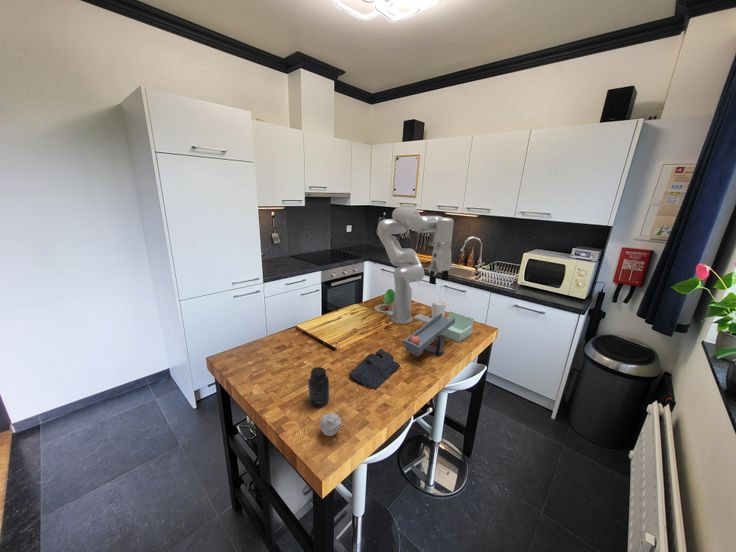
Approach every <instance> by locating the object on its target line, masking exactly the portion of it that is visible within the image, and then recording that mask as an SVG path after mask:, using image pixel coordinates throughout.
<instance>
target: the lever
mask: <svg viewBox="0 0 736 552" xmlns="http://www.w3.org/2000/svg"><path fill="white" fill-rule="evenodd" d="M413 317H414V320H416V321H418V322H419V321H420V322H422V323H425V324H424V325H423V326H420V327H421V328H420V327H419V328H420V329H419V330H418V329H417V330H416V331H415V332H414V333H412V334H411V335H409V336H408V337H407V338H405V339H404V340H403V347H405V349H406V352H408V353H410V354H412V355H414V356H416V357H419V356H421V355H422V353H424V350H423V349H424V348H426V347H427V346H428V345H430V344H432V343H433V342H434V341H435V340H436V339H437V338H438V336H440V335H441V334H442V333H444V332H445V331H446V330H447V329H448V328H450V327H451V326H452V325H453V324H454V323H455V318H452V319H451V320H450V319H447V318H448V317H445V316H444V317H442V313H440V314H439V315H438V316H436V317H435V318H432V317H430V316H427V315H424V314H421V313H418V314H417V315H416V316H413ZM412 336H417V337H418V338H419V339H420V342H419V344H418V345H416V344H414V343H412V342H410V339H411V337H412Z"/></svg>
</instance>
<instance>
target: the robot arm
mask: <svg viewBox="0 0 736 552" xmlns="http://www.w3.org/2000/svg"><path fill="white" fill-rule="evenodd" d="M391 217H392V218H386V219H382V220H380V221H379V223H378V224H377V235H378V239H379V240H380V241H381V243H382V245H383V246H384V248H385V251H386V254H387V256H388V258H389V261H390V263H391V265H393V266H394V267H396V268H395V269H394V270H393V279H394V280H393V281H394V293H395V295H394V302H393V306H394V310H393V311H392V310H391V311H389V310H385V314H386V316H390V317H389V318H390V320H391V322H393V323H395V324H400V325H407V324H410V323H413V317H412V316H411V310H412V309H411V308H412V298H413V297H412V293H413V291H412V287H411V286H410V284H411V283H414V282H415V283H416V282H420V281H422V280H424V277H425V270H424V267H423V264H422V262H421V260H420V258H419V255H418V253H417V252H416V251H415V249H413V248H410V247H409V248H407V247H406V248H403V247H402V246H401V244H400V241H399V240H398V239H397V238H396V237H395V236H394V235H401V234H404V233H407V231H409V230H411V231H414V232H417V233H421V234H425V233H434V241H433V250H432V253H431V254H432V255H431V260H430V264H429V266H428V267H427V270H428V275H429V280H428V283H429V284H432V285H436V284H437V283H436V282H437V273H441V280H442V281H446V282H447V281H448V280H449V273H450V271H451V270H450V269H451V267H452V265H453V262H452V243H453V242H452V241H453V232H454V223H455V222H454V221H455V220H454V219H453V218H451V217H443V216H442V215H441V216H440V215H421V214H420V212H419V211H418V209H416V207H413V206H400V207H399V206H398V207H396V208H395V209H394V210H393V211H392V213H391Z"/></svg>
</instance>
